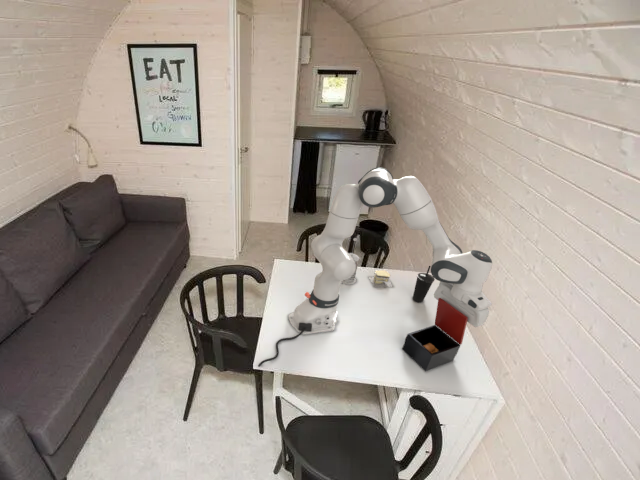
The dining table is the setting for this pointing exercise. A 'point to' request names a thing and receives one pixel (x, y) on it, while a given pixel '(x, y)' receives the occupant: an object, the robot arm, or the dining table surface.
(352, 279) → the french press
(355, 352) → the dining table surface
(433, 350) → the bread roll
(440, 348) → the black hinged box
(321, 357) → the dining table surface
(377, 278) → the stacked layers on plate
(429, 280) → the drinking cup
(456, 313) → the red box lid
